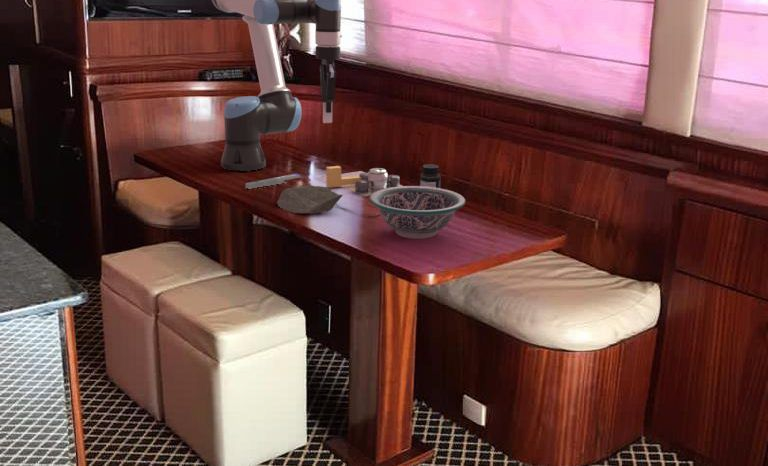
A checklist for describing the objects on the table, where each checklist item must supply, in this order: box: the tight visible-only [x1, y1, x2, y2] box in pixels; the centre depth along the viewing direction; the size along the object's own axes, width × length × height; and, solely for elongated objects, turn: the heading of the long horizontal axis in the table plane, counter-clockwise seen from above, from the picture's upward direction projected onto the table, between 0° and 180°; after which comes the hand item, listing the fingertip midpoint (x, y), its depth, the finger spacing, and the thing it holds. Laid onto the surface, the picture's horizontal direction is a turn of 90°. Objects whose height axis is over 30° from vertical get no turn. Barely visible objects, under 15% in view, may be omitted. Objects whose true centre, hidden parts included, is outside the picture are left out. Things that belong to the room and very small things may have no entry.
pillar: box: [245, 173, 301, 189], centre depth 268 cm, size 2×2×20 cm
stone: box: [276, 184, 343, 214], centre depth 244 cm, size 20×4×15 cm
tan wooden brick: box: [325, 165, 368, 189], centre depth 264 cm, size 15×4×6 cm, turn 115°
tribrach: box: [317, 167, 403, 197], centre depth 267 cm, size 26×17×7 cm, turn 37°
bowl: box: [369, 185, 466, 240], centre depth 222 cm, size 25×25×10 cm
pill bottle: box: [419, 164, 442, 188], centre depth 251 cm, size 6×6×11 cm
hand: (327, 122), depth 265 cm, fingers closed
